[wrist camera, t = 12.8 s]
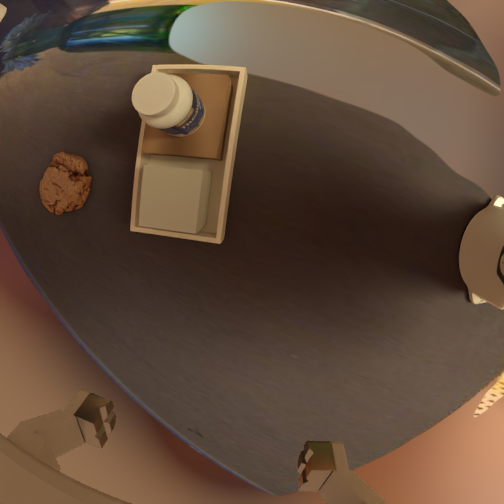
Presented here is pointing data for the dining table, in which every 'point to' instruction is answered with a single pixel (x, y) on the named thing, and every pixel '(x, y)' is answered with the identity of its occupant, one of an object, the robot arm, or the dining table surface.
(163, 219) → the pale green block
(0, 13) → the cup
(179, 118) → the pill bottle
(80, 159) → the cookie
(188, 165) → the box
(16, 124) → the dining table surface
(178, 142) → the walnut block
